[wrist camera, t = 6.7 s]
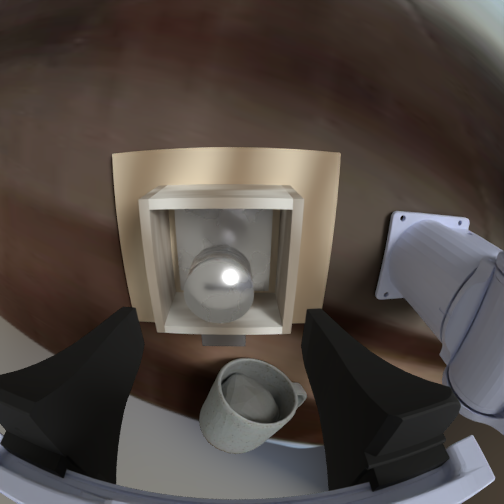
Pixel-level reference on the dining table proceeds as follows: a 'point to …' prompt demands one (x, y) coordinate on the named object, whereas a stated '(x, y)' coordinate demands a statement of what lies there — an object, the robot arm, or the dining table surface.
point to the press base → (227, 197)
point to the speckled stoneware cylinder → (248, 405)
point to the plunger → (223, 259)
